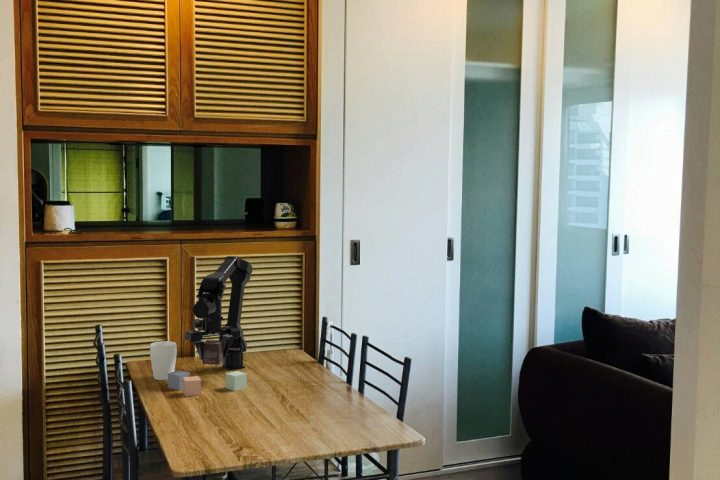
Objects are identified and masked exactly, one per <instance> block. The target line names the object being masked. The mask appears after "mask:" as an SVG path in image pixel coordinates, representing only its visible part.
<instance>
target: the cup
mask: <svg viewBox="0 0 720 480" xmlns="http://www.w3.org/2000/svg"><path fill="white" fill-rule="evenodd" d="M177 353H178V349H177V343H176V342H175V341H168V340H165V341H164V340H162V341H161V340H160V341H154V342H152V343H150V348H149V356H150V364H151V369H152V375H153V379H154V380H156V381H168V373H171V372H174V371H175V369H176V368H175V367H176V362H177V361H176V360H177V356H178V355H177Z"/></svg>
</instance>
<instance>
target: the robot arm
mask: <svg viewBox="0 0 720 480" xmlns="http://www.w3.org/2000/svg"><path fill="white" fill-rule="evenodd" d="M252 274H253V265H252V264H251V263H250V262H249V261H247V260H244V259H242V258H241V257H239V256H234V255H227V256H225V257H224V259H223V261H222V263H221V264H220V265H219V267H217V269H216V270H215V271H214V272H213V273H210V274H209V273H208V274H207V275H206V276H204V277H203V278H202V280H201V282H200V285H199V288H198V293H197V295H196V298H197V302H195V304H194V305H193V306H192V314H193V316H195V318H193V319H192V324H191V325H192V328H193V329H194V330H186V331H185V333H184V340H186V341H187V342H190V343H193V345H194V347H195V348H196V350H197V353H198V356H199V359H200V360H201V361H202V360H203V356H204V342H205V341H204V340H203V338H210V337H218V336H219V337H218V340H223V341H224V361H223V362H222V365H221V367H223V368H224V369H227V370H229V371H232V370H237V369H245V368H246V366H245V365H244V353H245V352H247V348H248V347H247V346H248V344H247V341H246V339H245V337H244V330H243V329H242V326H241V319H242V311H243V303H244V302H243V301H244V294H245V288H246V285H247V284H248V283H249V281H250V280H251V275H252ZM228 279H229V281H230V283H231V288H230V295H229V296H230V297H229V303H228V314H227V321H226V324H225V325H224V326H222V321H224V317H223V316H222V314H223V312H222V310H223V309H222V304H223V303H222V299H223V298H224V296H223V295H224V293H225V289H226V287H227V286H226V281H228ZM196 329H197V330H196Z"/></svg>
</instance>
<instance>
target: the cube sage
mask: <svg viewBox="0 0 720 480" xmlns="http://www.w3.org/2000/svg"><path fill="white" fill-rule="evenodd" d="M247 379H248V373H246V372H242V371H239V370H236V371H231V372H225V389H227V390H230V391H234V392H236V391H242V390H245V389H247V388H248V380H247Z"/></svg>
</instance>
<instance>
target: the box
mask: <svg viewBox="0 0 720 480" xmlns="http://www.w3.org/2000/svg"><path fill="white" fill-rule="evenodd" d="M201 361H202V365H218V366H219V365H221V364H223V361H224V341H223V340H219V339H218V340H217V339H207V340H205V341H204V356H203V360H201Z"/></svg>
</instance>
